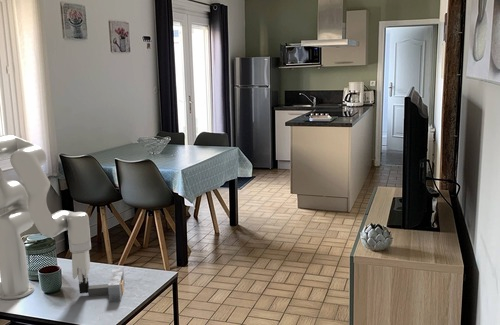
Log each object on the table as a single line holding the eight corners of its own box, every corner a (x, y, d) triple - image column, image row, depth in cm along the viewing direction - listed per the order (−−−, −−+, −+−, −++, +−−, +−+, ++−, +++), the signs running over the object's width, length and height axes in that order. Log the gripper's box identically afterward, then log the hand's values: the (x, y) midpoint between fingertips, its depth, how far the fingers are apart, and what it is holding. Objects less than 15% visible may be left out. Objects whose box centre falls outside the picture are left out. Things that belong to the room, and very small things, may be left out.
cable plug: (88, 297, 186) (87, 286, 186) (90, 292, 190) (89, 282, 190) (122, 294, 188) (122, 284, 187) (123, 289, 192) (123, 279, 191)
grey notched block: (109, 302, 182) (107, 285, 180) (114, 284, 197) (112, 268, 196) (120, 301, 182) (119, 284, 181) (124, 283, 198) (123, 267, 197)
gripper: (73, 239, 191) (77, 284, 194) (65, 253, 177) (70, 302, 180) (93, 238, 192) (97, 283, 196) (87, 251, 178) (91, 300, 181)
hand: (84, 292), depth 188 cm, fingers closed
